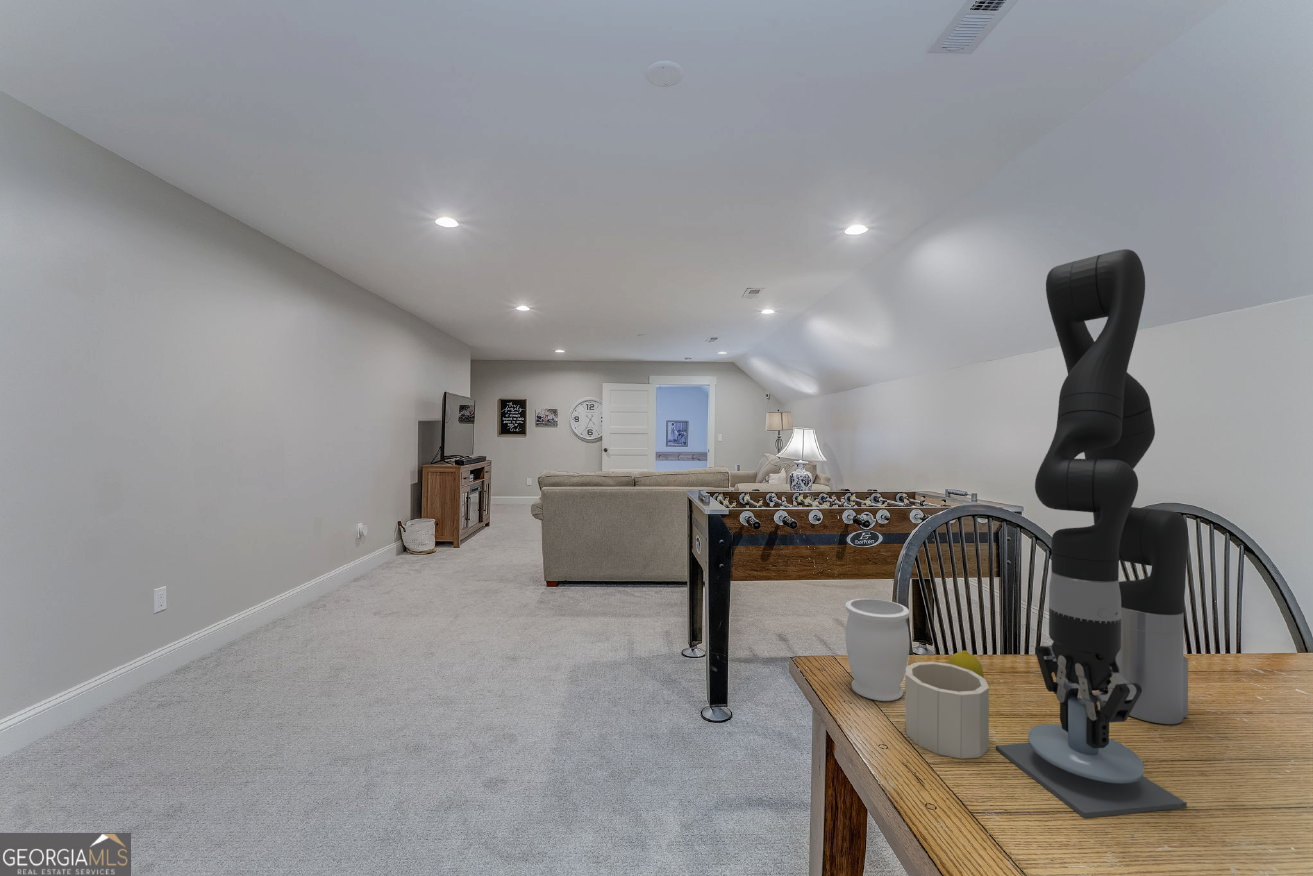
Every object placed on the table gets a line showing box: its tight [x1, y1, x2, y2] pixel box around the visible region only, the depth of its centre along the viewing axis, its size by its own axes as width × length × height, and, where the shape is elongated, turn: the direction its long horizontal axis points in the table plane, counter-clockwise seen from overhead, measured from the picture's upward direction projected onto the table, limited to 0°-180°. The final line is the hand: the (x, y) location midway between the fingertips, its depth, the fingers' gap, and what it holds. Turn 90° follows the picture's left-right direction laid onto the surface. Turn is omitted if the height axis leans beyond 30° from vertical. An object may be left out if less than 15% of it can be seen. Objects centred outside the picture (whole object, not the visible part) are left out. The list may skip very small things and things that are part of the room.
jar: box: [845, 598, 910, 702], centre depth 96 cm, size 11×10×15 cm
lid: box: [1027, 697, 1145, 783], centre depth 72 cm, size 12×12×7 cm
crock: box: [904, 661, 990, 760], centre depth 81 cm, size 11×11×9 cm
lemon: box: [947, 650, 985, 679], centre depth 94 cm, size 6×6×8 cm
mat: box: [995, 742, 1188, 819], centre depth 72 cm, size 14×14×1 cm
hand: (1083, 737), depth 72 cm, fingers closed on lid, 3 cm apart
